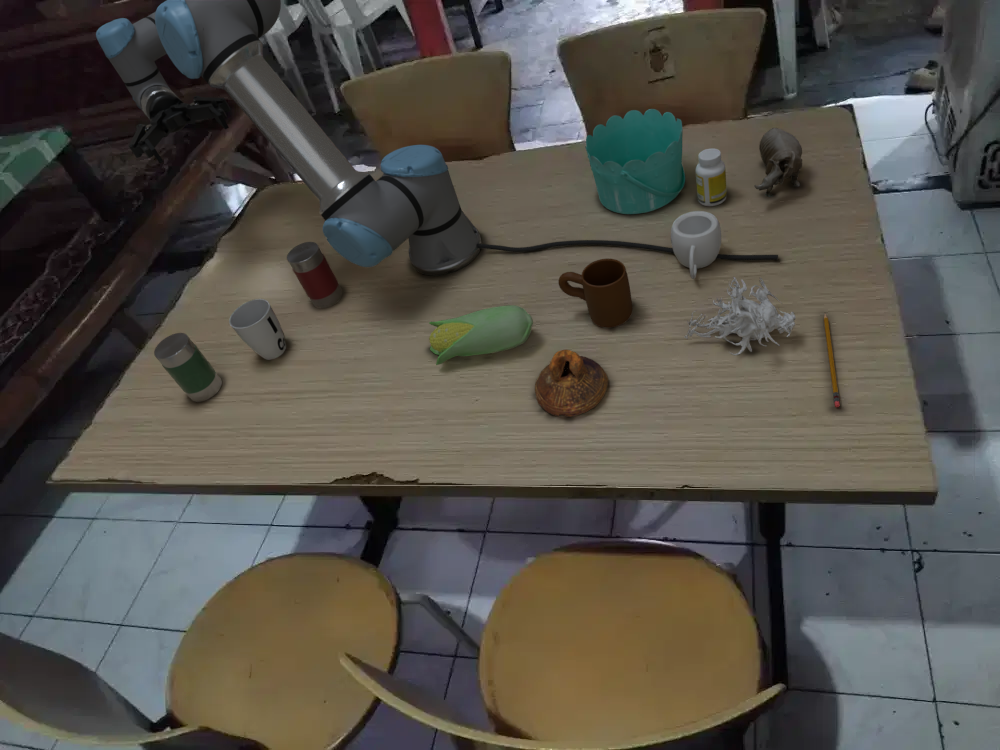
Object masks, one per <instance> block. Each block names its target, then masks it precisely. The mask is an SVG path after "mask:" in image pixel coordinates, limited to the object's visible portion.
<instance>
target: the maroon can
mask: <svg viewBox="0 0 1000 750" xmlns="http://www.w3.org/2000/svg"><path fill="white" fill-rule="evenodd" d="M286 260H287V262H288V264H289V266H290V267H291V269H292V272H293V273H294V275H295V277H296V279H297V280H298V282H299V284H300V286H301V287H302V289H303V290H304V292H305V294H306V296H307V297H308V299H309V300H310V302H311V304H312V305H313V306H314V307H315V308H316V309H327V308H330V307H332V306H334V305H336V304H337V303H338V302H339V301H340V300H341V299H342V297H343V289H342V288H341V286H340V284H339V281H338V279H337V277H336V275H335V273H334V271H333V269H332V267H331V265H330V264H329V262H328V260H327V258H326V256H325V255H324V253H323V252H322V249H321V248H320V246H319V244H318V243H317V242H315V241H305V242H302V243H299V244H297V245H296V246H294V247H292V248H291V249H290V251H288V253H287V255H286Z"/></svg>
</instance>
